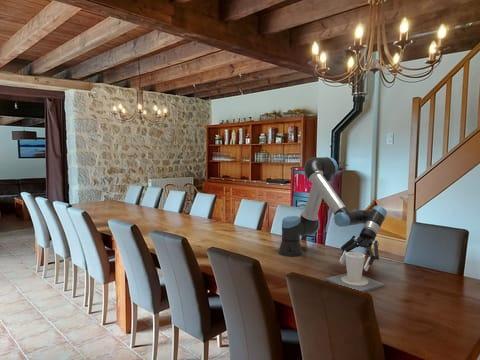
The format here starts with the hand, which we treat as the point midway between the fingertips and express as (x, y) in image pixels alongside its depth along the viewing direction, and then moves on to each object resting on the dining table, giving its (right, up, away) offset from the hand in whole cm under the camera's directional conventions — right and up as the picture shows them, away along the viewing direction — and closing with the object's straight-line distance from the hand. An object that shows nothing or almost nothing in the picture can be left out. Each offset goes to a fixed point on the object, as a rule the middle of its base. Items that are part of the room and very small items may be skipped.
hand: (352, 266), depth 172 cm
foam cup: (+2, -8, +3) cm, 8 cm away
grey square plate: (+2, -9, +2) cm, 10 cm away
